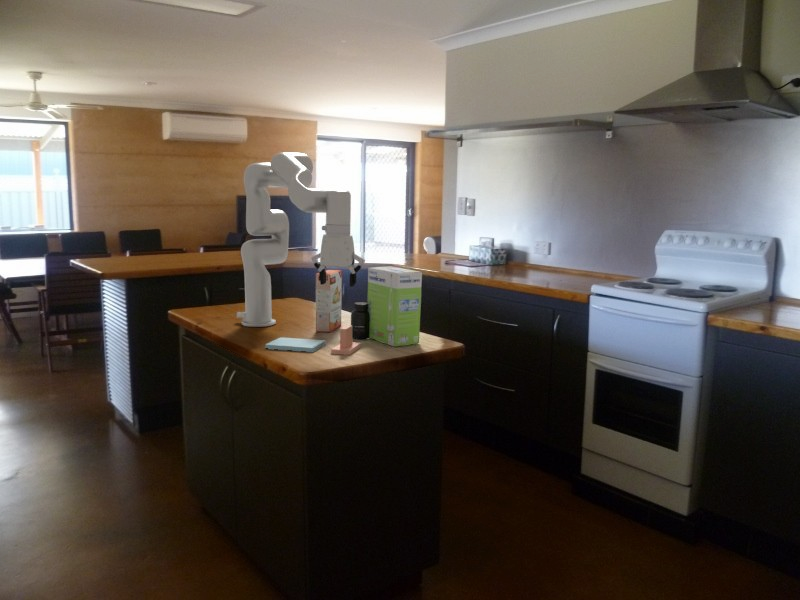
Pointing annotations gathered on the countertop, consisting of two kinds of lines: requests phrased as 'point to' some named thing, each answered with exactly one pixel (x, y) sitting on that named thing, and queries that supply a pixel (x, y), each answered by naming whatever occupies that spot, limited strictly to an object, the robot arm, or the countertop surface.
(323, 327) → the cracker box
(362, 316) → the supplement bottle
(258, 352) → the countertop surface
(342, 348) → the stub
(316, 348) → the light blue flat slab
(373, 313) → the toothbrush box
